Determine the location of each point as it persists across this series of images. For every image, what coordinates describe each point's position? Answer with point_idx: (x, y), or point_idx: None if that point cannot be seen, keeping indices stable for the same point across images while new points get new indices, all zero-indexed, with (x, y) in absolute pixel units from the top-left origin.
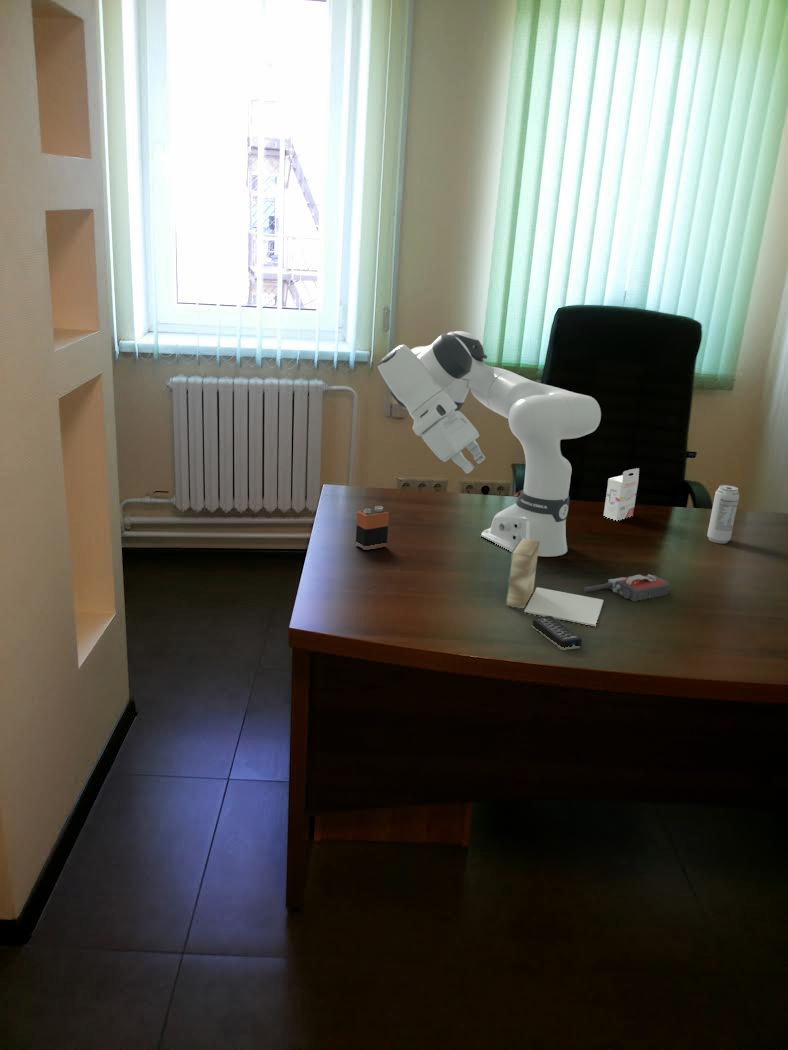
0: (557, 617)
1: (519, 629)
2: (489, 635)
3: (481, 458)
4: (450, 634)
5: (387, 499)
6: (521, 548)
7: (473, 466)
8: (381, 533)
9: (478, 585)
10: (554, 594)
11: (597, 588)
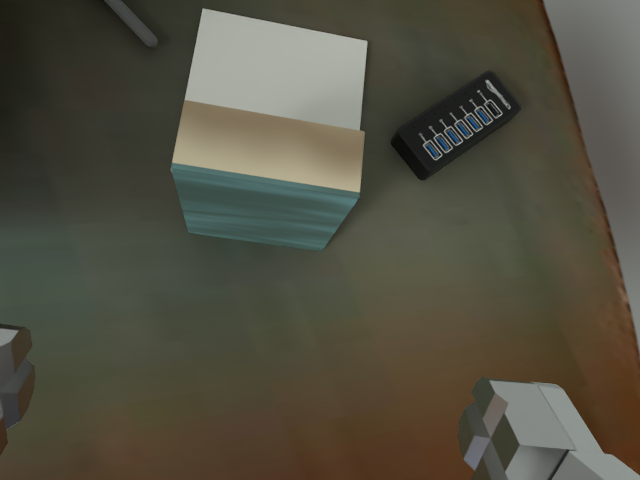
0: (360, 120)
1: (449, 208)
2: (512, 273)
3: (16, 357)
4: (550, 365)
5: None
6: (301, 163)
7: (502, 386)
8: None
9: (196, 343)
10: None
11: (132, 12)
